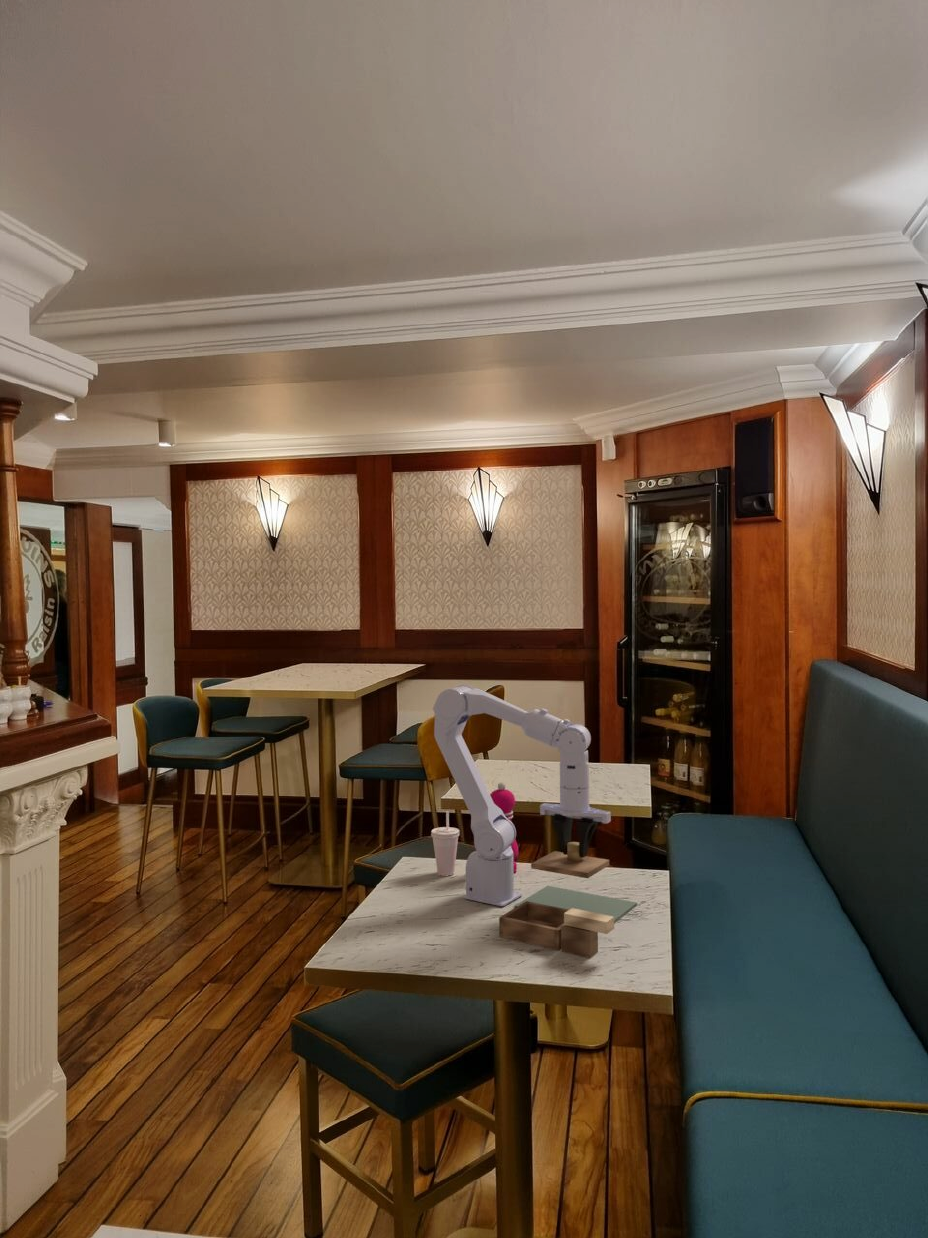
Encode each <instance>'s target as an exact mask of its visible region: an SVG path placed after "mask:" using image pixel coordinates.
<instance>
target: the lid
mask: <svg viewBox="0 0 928 1238" xmlns="http://www.w3.org/2000/svg"><path fill="white" fill-rule="evenodd" d="M609 866H610V859H606V858H600V857H594V856H593V857H592V856H588V855H587V856H585V857H580V855H579V841H571V842H569V843H567V855H565V854H563V851H562V852H561V851H557V850H554V851H552V852H550V853H548V854H547V855H545V856H542V857H541V858H538V859H537V860H535V861H533V862H531V864H530V868H531V869H533V870H539V871H544V872H548V873H555V874H559V875H567V876H571V877H572V876H573V877H577V878H584V879H590V878H591V877H592V876H594V875H596V874H598V873H599V872H600V871H602V870H604V869H605V868H606V867H609Z"/></svg>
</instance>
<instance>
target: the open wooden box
mask: <svg viewBox="0 0 928 1238" xmlns="http://www.w3.org/2000/svg"><path fill="white" fill-rule="evenodd" d="M567 911H568V909H563V908H558V907H553V906H548V905H543V904H538V903H533V902H528V901H526V902H524V903H522V904H521V905H519V906H517V907H516V908H512V909H511V910H509V911H508V912H506V913H504V914H502V915H501V916H499V918H498V922H499V923H498V924H499V925H498V927H499V932H498V933H499V937H500V938H503V939H507V940H511V941H516V942H521V943H524V944H529V945H533V946H538V947H542V948H547V949H550V950H554V951H560V950H561V952H564V953H567V954H571V955H572V954H573V955H576V956H580V957H585V958H589V959H591V958H593V957H594V956H595V955H596V954H597V953H598V952H599V935H598V934H599V932H595V931H590V930H586V929H581V928H576V927H572V926H567V925H564V913H565V912H567Z"/></svg>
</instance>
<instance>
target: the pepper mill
mask: <svg viewBox="0 0 928 1238" xmlns="http://www.w3.org/2000/svg"><path fill="white" fill-rule="evenodd" d="M489 794H490V796H491V798H492V800H493V802H494V804H495V805H496V806H498V807H499V808H500V809H501V810H502V811H503V813H504V815H505V817H506V818H507V819H509V820H510V821H511V822H512V819H513V818H514V815H513V813H514V811H513V808H514V807H515V805H516V798H515V795H514V793H513V792H512V791H511V790H509V789H506V783H504V782H499V783H498V784H497V789H495V790H493V791H491V793H489ZM518 845H519V844H518V843H517V840H516V839H515V840H514V842H513V843H512V844H511V848H512V850H513V869H514V872H515V873H517V871H518V869H517V867H518V866H517V862H516V859H518V857H519V846H518ZM516 870H517V871H516Z"/></svg>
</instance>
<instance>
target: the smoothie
mask: <svg viewBox="0 0 928 1238" xmlns="http://www.w3.org/2000/svg"><path fill="white" fill-rule="evenodd" d="M445 813H446V814H445V817H446V818H445V823H446V824H445V825H446V826H442V827H441V826H440V827H435V828H433V829H432V830H431V831H430V832H431V834H430V836H431V837H432V841H433V849H434V856H435V863H436V865H435V866H436V871H437V875H438V876H440V875H442V876H441V877H448V876H447V875H451V874H454V875H455V869H456V860H457V859H456V858H457V852H458V842H459V841H458V840H459V836H460V829H459V828H456V827H450V812H449V810H445ZM451 876H452V875H451Z"/></svg>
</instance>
